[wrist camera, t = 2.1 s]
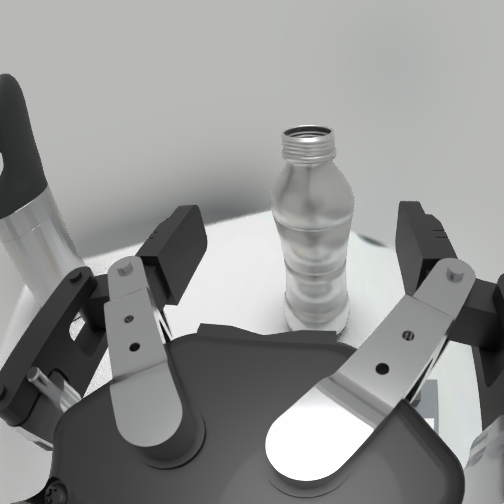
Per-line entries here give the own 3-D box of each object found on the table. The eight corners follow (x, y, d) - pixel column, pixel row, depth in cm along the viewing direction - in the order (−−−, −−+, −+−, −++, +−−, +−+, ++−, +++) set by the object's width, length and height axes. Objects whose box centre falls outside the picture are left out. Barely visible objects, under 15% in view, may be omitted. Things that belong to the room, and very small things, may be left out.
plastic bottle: (324, 360, 28) (323, 151, 17) (272, 329, 33) (240, 139, 21) (359, 319, 32) (371, 127, 20) (309, 294, 36) (297, 117, 24)
